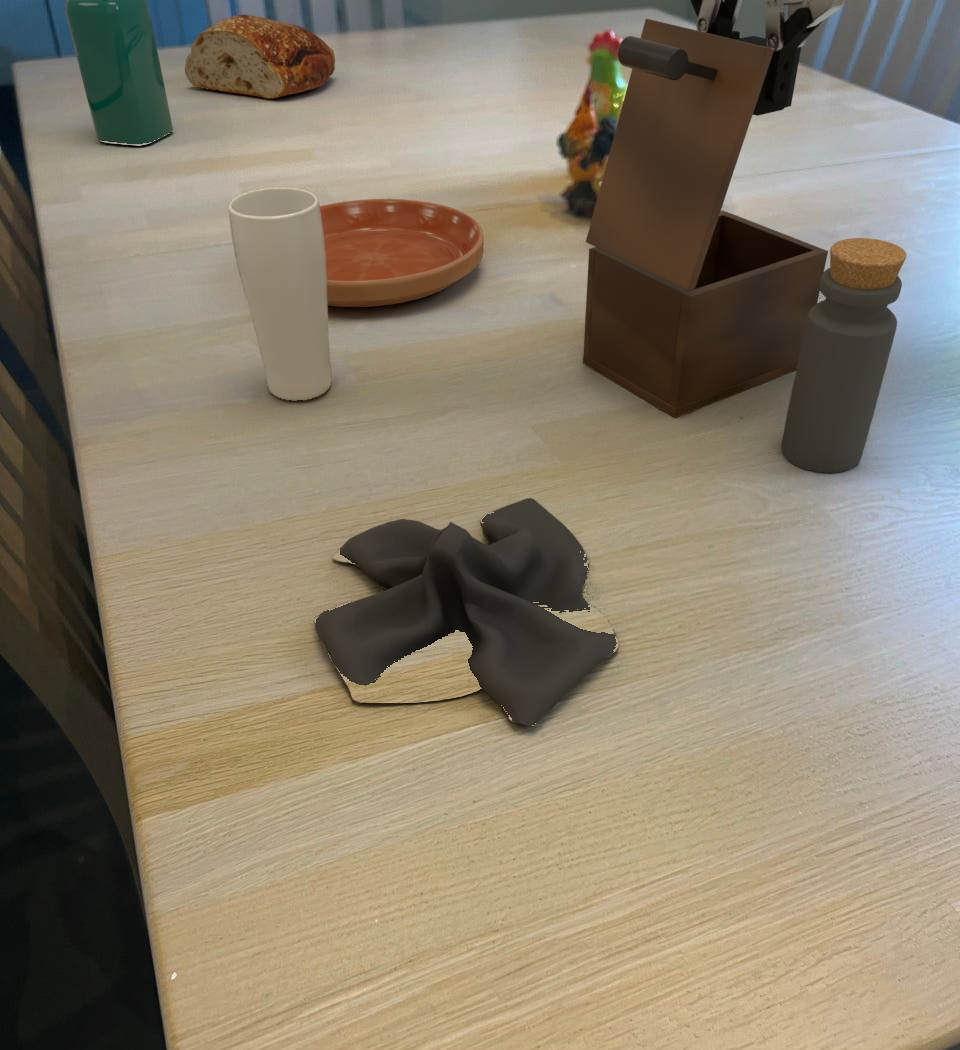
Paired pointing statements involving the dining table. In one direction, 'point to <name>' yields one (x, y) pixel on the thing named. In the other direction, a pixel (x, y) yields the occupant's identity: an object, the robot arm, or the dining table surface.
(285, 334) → the drinking glass
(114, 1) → the pitcher
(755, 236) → the wooden box
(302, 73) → the bread
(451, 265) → the saucer
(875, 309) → the bottle
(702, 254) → the box lid
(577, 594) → the cloth
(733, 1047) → the dining table surface
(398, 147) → the dining table surface
